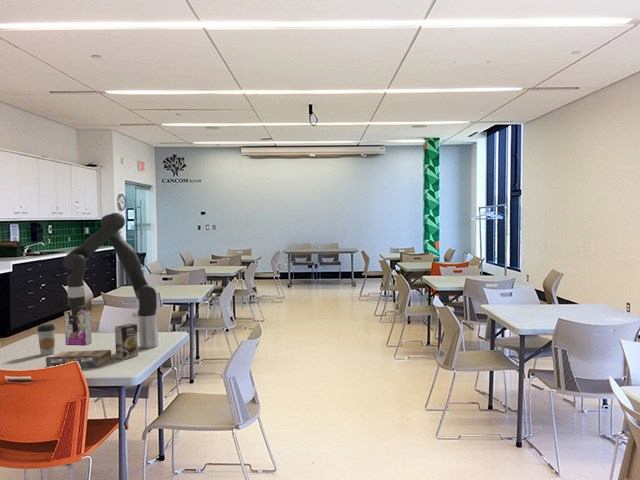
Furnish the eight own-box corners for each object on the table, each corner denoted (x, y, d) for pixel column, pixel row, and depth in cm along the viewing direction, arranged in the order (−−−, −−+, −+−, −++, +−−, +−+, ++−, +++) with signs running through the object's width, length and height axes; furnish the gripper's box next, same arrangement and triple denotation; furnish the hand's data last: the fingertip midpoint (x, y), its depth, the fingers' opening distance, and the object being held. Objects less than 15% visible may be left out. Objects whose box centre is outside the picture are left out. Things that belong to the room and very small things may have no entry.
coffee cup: (38, 356, 275) (37, 328, 275) (38, 353, 283) (37, 325, 282) (56, 354, 279) (55, 326, 279) (56, 351, 287) (54, 323, 286)
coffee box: (124, 360, 263) (122, 327, 263) (115, 358, 267) (114, 326, 266) (139, 355, 271) (137, 324, 270) (130, 354, 275) (129, 323, 274)
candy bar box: (65, 345, 258) (63, 311, 257) (71, 343, 263) (70, 310, 262) (85, 346, 256) (84, 312, 255) (92, 343, 261) (90, 310, 260)
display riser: (111, 357, 269) (110, 346, 269) (97, 367, 251) (97, 355, 251) (63, 359, 268) (62, 348, 268) (46, 369, 251) (45, 357, 251)
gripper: (74, 293, 265) (76, 327, 266) (61, 298, 251) (63, 333, 252) (90, 293, 266) (91, 327, 266) (77, 297, 251) (79, 333, 252)
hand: (78, 330), depth 259 cm, fingers closed on candy bar box, 5 cm apart
